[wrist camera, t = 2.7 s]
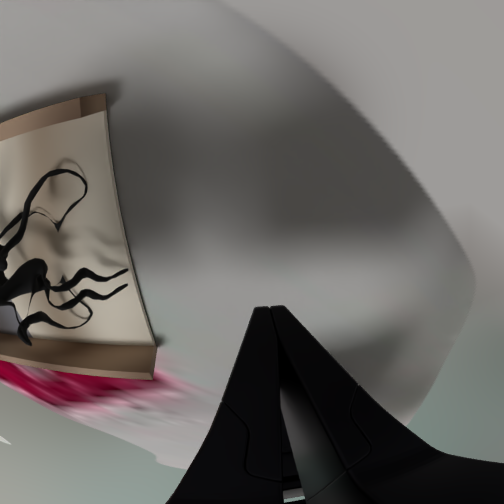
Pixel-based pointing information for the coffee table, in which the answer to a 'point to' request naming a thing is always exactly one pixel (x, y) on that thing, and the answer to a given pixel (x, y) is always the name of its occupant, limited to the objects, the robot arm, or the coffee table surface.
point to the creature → (44, 270)
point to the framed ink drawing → (71, 245)
